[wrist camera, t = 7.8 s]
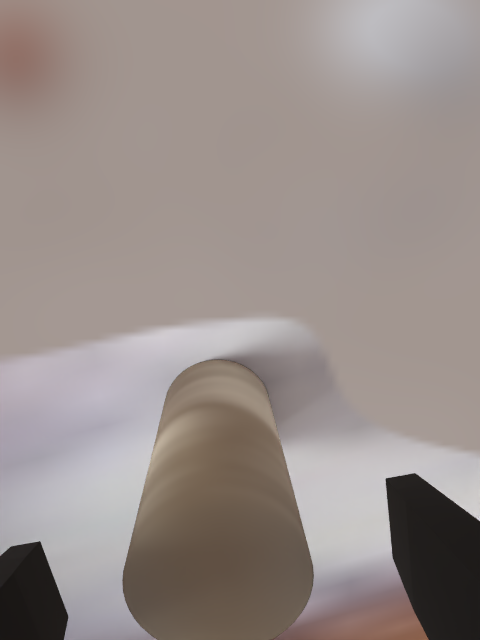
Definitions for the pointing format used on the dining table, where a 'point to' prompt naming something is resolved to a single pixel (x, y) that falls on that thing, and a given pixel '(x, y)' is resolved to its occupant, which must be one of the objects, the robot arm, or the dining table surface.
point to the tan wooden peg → (217, 517)
